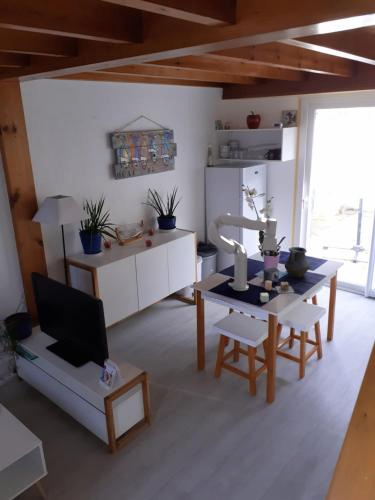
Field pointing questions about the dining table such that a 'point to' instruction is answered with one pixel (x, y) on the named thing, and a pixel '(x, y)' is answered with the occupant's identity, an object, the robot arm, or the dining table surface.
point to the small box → (271, 275)
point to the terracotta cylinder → (268, 285)
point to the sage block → (264, 297)
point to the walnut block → (284, 286)
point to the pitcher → (297, 262)
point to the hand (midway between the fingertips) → (268, 256)
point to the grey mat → (284, 291)
